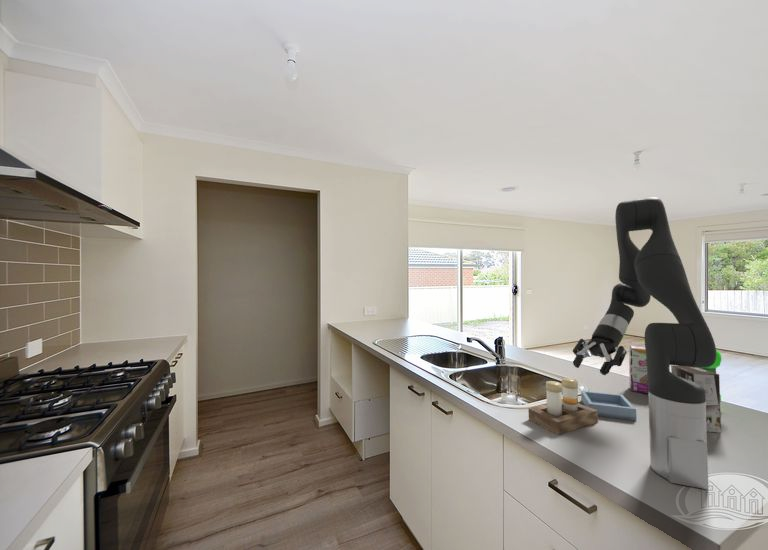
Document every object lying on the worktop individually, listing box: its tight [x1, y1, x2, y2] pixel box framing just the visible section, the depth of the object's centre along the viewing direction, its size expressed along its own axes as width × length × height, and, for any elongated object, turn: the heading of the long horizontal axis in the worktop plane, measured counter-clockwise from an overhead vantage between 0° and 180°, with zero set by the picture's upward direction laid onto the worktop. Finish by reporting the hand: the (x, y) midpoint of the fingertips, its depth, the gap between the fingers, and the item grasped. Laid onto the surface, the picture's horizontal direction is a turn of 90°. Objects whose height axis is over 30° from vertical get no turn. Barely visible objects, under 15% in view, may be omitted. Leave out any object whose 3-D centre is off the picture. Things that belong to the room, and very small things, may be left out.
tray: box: [580, 390, 637, 422], centre depth 100 cm, size 12×12×4 cm
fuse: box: [545, 380, 563, 417], centre depth 92 cm, size 4×4×12 cm
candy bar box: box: [628, 345, 671, 394], centre depth 114 cm, size 11×5×16 cm, turn 58°
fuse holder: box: [528, 399, 599, 436], centre depth 93 cm, size 17×10×4 cm, turn 113°
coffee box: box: [670, 365, 722, 434], centre depth 90 cm, size 9×6×16 cm
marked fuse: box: [561, 377, 579, 413], centre depth 95 cm, size 4×4×12 cm
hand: (588, 369), depth 98 cm, fingers open, 8 cm apart
